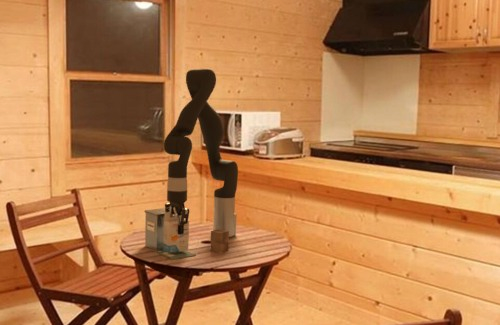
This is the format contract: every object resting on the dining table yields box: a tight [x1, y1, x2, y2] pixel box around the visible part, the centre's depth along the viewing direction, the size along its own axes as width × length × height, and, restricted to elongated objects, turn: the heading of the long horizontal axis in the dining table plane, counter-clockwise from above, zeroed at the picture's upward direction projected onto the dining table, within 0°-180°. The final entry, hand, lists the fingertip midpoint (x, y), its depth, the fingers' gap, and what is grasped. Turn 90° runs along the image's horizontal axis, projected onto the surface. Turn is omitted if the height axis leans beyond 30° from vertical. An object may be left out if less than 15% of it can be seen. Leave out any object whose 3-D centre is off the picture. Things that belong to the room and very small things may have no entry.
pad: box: [155, 250, 196, 260], centre depth 222 cm, size 10×12×1 cm
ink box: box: [162, 212, 190, 253], centre depth 221 cm, size 8×5×15 cm, turn 123°
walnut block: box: [210, 229, 230, 254], centre depth 229 cm, size 5×5×8 cm
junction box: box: [144, 207, 165, 252], centre depth 231 cm, size 9×10×15 cm
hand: (176, 232), depth 221 cm, fingers closed on ink box, 5 cm apart
